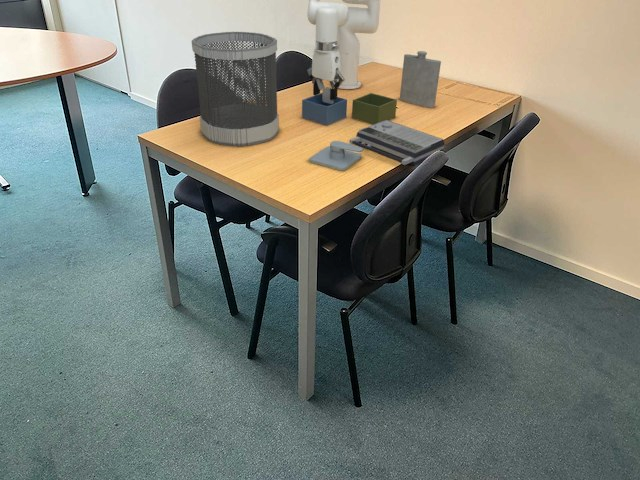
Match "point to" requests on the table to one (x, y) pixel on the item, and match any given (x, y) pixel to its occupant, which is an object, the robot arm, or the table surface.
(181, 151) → the table surface
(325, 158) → the shower valve
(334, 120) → the bin
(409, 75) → the hip flask
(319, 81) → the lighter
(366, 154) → the table surface
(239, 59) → the wastebasket
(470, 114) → the table surface
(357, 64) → the robot arm
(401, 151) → the radio
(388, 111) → the bin
